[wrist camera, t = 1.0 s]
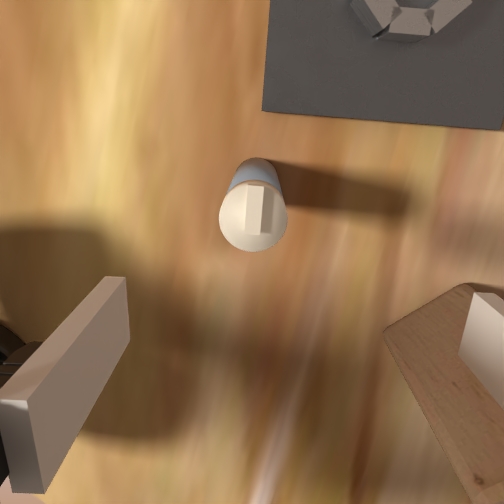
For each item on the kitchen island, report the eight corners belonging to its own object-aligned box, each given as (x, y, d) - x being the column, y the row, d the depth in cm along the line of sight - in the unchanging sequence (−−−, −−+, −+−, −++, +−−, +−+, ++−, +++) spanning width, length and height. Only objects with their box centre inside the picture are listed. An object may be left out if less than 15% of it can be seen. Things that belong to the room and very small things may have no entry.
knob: (275, 202, 36) (284, 258, 23) (233, 199, 36) (216, 253, 23) (279, 158, 35) (292, 188, 21) (235, 154, 35) (219, 182, 21)
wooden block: (376, 328, 41) (475, 514, 22) (463, 276, 39) (656, 433, 20) (423, 391, 43) (547, 604, 25) (507, 345, 41) (714, 542, 22)
